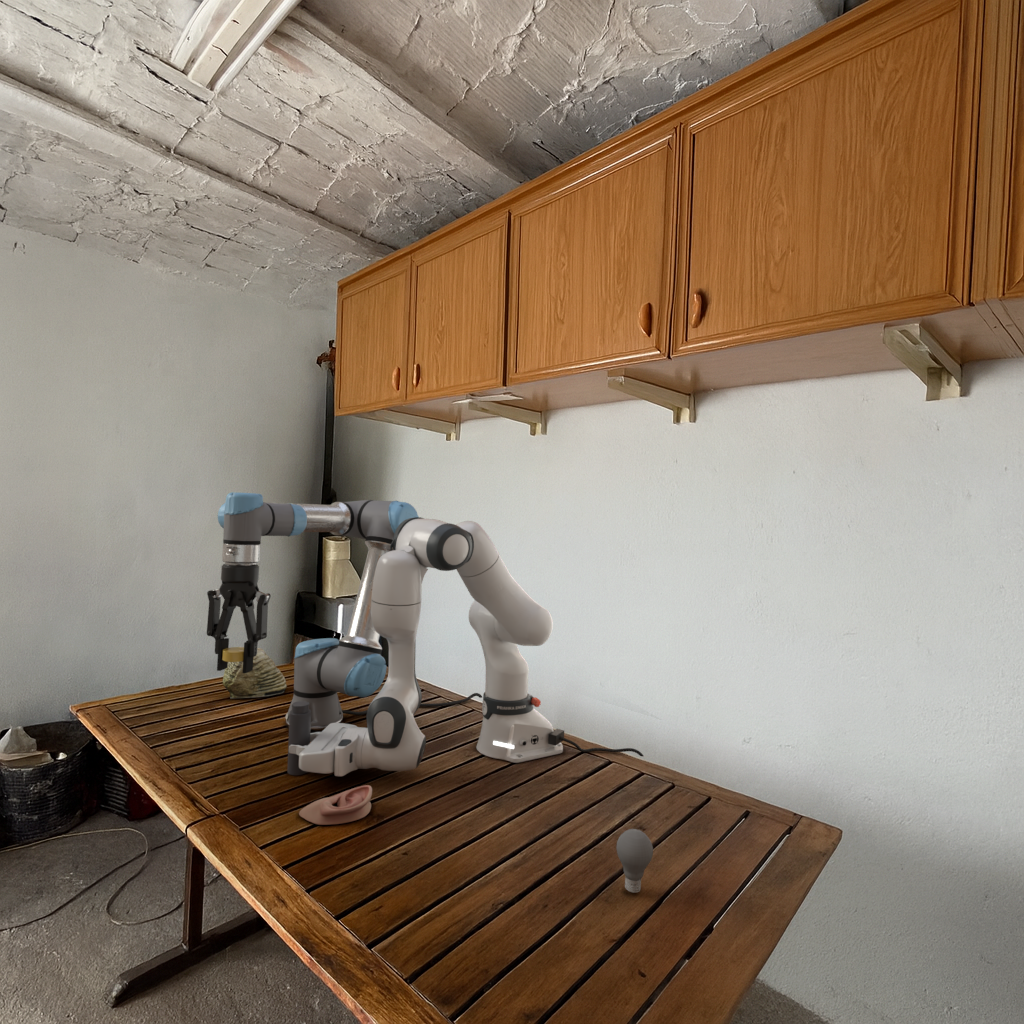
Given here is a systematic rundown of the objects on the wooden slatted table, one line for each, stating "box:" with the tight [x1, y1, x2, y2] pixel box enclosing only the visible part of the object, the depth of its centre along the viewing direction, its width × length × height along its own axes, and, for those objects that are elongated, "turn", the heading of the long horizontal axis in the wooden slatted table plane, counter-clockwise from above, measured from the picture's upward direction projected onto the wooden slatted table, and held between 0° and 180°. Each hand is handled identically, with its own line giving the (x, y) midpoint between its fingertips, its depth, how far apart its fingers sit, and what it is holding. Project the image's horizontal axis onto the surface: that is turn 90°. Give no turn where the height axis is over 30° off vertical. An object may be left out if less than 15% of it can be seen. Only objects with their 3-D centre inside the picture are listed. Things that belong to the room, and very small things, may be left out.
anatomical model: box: [298, 784, 373, 826], centre depth 127 cm, size 13×4×12 cm
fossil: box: [222, 647, 288, 699], centre depth 198 cm, size 9×18×15 cm, turn 132°
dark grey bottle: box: [286, 701, 311, 776], centre depth 145 cm, size 5×5×16 cm
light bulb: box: [615, 828, 654, 894], centre depth 106 cm, size 6×6×10 cm
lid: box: [222, 646, 244, 662], centre depth 137 cm, size 5×5×2 cm
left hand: (234, 670), depth 137 cm, fingers closed on lid, 5 cm apart
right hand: (295, 743), depth 146 cm, fingers closed on dark grey bottle, 5 cm apart
